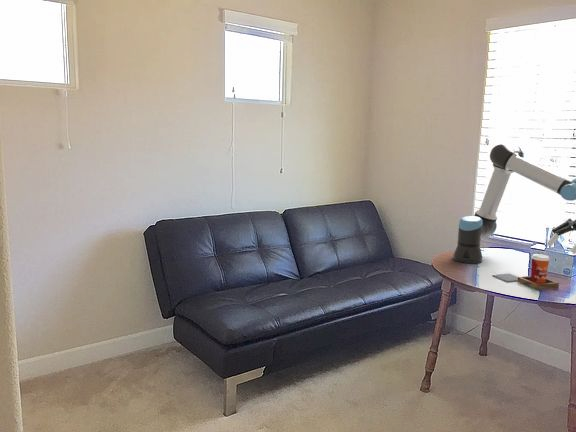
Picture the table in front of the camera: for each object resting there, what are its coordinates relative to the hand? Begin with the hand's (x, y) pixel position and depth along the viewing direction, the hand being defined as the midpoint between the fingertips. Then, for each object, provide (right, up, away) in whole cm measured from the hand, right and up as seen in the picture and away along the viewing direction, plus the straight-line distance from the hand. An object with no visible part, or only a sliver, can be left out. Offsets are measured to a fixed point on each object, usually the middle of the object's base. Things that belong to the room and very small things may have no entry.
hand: (560, 248), depth 226 cm
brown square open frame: (-11, -17, 0) cm, 20 cm away
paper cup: (-11, -17, 0) cm, 20 cm away
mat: (-20, -15, +9) cm, 27 cm away
